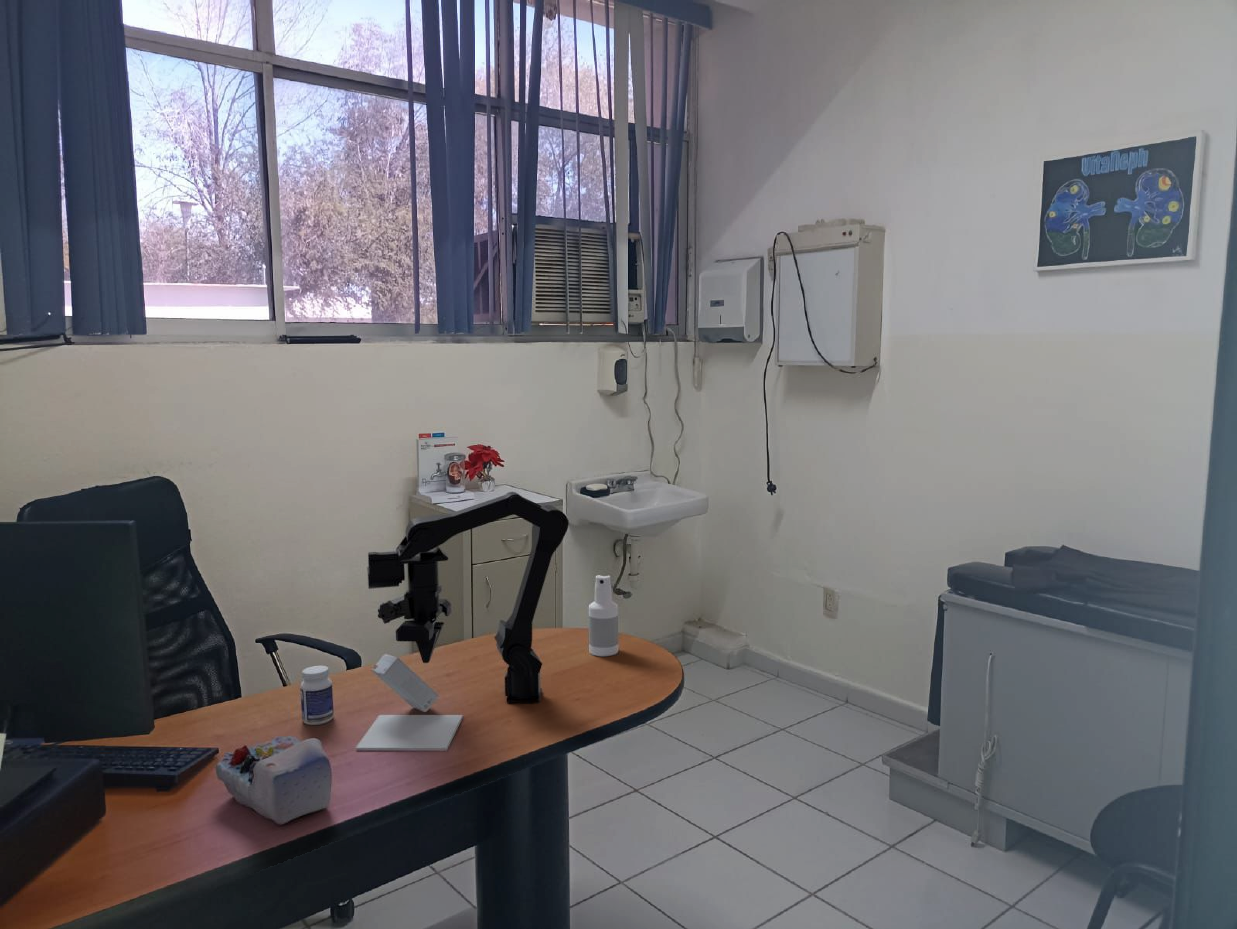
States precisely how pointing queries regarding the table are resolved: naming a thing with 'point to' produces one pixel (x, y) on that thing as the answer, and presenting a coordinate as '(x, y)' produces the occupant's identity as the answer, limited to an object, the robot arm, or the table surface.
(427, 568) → the robot arm
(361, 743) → the mat
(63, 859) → the table surface
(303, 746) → the cell model
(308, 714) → the pill bottle
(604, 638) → the spray bottle
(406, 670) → the skincare box
